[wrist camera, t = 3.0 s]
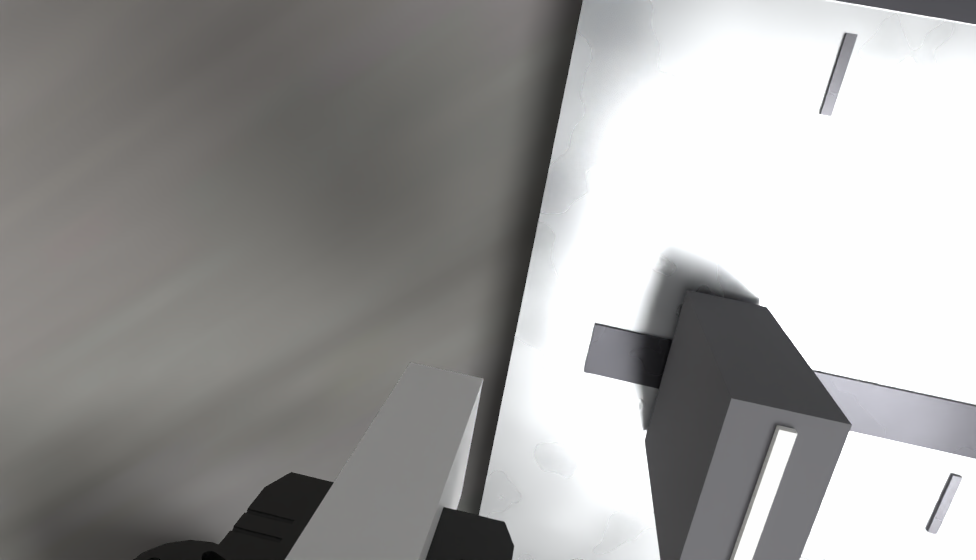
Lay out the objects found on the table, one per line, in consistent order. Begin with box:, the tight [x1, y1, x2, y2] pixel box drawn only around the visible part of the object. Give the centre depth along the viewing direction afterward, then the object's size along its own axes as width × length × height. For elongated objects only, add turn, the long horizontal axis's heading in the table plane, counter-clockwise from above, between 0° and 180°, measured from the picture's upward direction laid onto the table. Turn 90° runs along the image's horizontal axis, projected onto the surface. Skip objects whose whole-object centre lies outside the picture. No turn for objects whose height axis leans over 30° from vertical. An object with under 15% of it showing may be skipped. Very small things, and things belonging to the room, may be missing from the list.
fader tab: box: [644, 290, 852, 560], centre depth 15 cm, size 4×2×6 cm, turn 170°
